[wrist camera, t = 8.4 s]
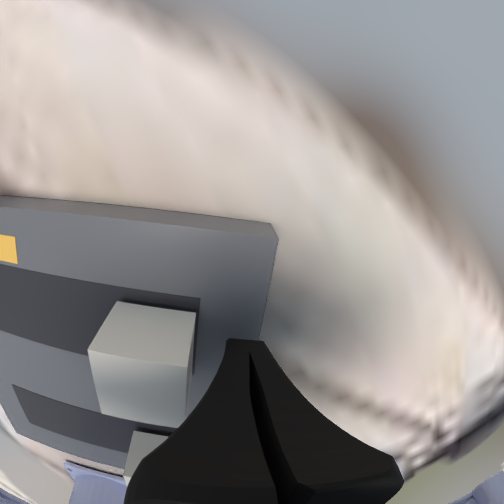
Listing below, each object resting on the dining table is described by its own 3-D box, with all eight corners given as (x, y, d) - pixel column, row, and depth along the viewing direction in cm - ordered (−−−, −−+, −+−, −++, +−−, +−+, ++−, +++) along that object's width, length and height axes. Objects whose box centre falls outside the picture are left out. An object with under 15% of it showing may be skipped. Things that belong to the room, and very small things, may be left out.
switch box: (225, 460, 18) (225, 483, 16) (25, 415, 16) (16, 433, 14) (270, 223, 12) (278, 238, 10) (-31, 193, 10) (-55, 202, 8)
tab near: (191, 373, 12) (185, 429, 9) (122, 362, 11) (101, 413, 9) (196, 312, 11) (187, 367, 8) (117, 301, 10) (87, 349, 8)
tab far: (189, 465, 14) (186, 506, 11) (139, 457, 14) (131, 497, 11) (190, 439, 13) (186, 486, 10) (133, 430, 13) (122, 475, 10)
